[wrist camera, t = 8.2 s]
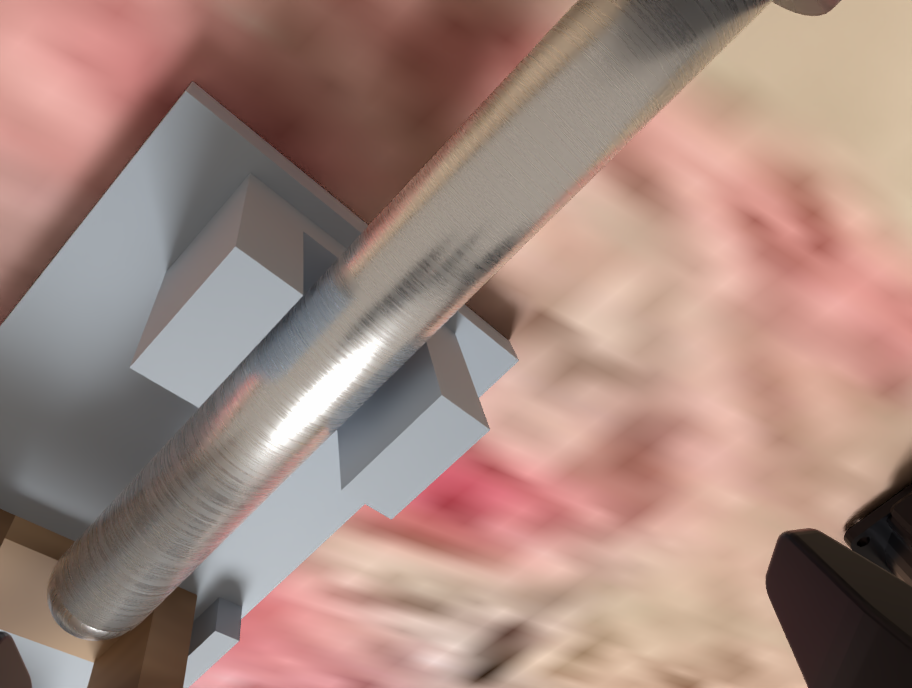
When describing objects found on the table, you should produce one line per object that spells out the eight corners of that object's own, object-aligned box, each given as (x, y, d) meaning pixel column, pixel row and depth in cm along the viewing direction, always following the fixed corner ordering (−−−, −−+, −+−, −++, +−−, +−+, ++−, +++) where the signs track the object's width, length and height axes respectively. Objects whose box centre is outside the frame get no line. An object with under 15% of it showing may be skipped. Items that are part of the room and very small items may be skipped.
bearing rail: (509, 341, 20) (566, 457, 16) (47, 778, 26) (-4, 949, 21) (192, 81, 15) (149, 146, 11) (-287, 689, 21) (-437, 886, 17)
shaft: (794, -45, 14) (945, -32, 11) (164, 581, 20) (136, 719, 16) (684, -228, 13) (826, -281, 9) (22, 519, 18) (-44, 660, 15)
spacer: (197, 595, 21) (167, 792, 16) (137, 652, 22) (91, 857, 17) (-32, 494, 18) (-152, 702, 13) (-93, 566, 19) (-227, 787, 14)
